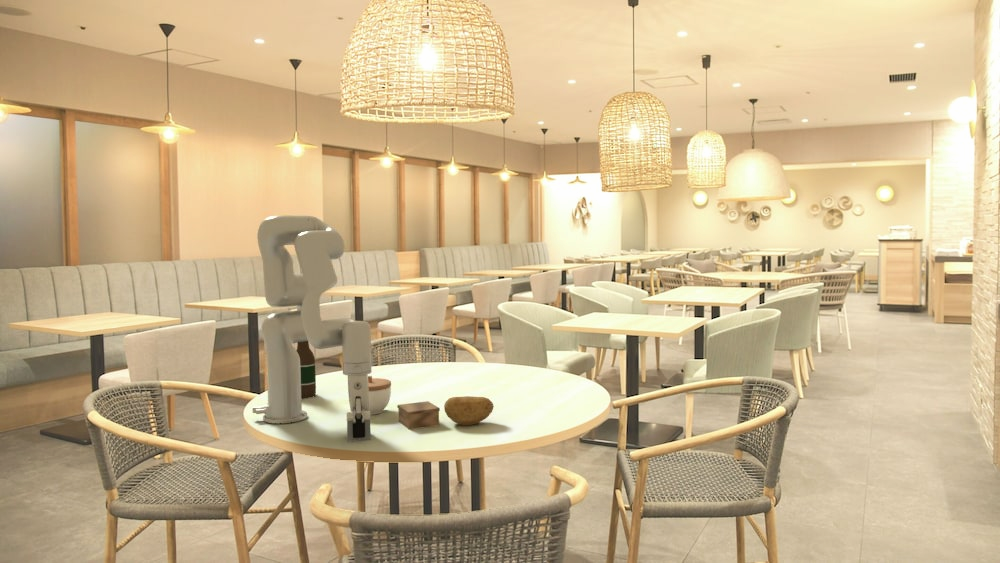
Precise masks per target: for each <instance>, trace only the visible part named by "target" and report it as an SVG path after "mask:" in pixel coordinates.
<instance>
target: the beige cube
mask: <svg viewBox="0 0 1000 563" xmlns="http://www.w3.org/2000/svg"><path fill="white" fill-rule="evenodd" d="M361 414H362V413H361ZM355 415H356V414H355ZM371 418H372V417H371V415H370V411H368V412H367V411H364V422H365V437H363V438H353V423H354V422H353V412H351V411H347V412H346V429H347V431H346V432H347V434H346V435H347V442H358V441H371V440H372V439H371V437H372V436H371V435H372V434H371V433H372V432H371ZM355 421H356V419H355ZM355 423H356V422H355Z"/></svg>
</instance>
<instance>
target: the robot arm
mask: <svg viewBox="0 0 1000 563" xmlns="http://www.w3.org/2000/svg"><path fill="white" fill-rule="evenodd" d="M256 234H257V237H256V238H257V245H258V249H259V252H260V255H261V260H262V271H263V285H264V297H265V300H266V304H268V306H269V307H272V308H275V309H276V308H277V309H279V308H280V309H281V308H289V307H296V310H289V311H280V312H279V311H278V312H274V313H271V314H269V315H267V316H266V317H265V318H264V319H263V321H262V324H261V335H262V339H263V343H264V348H265V357H266V360H265V361H266V362H265V363H266V380H267V403H266V404H264V405H263V406H258V405H257V406H255V405H254V406H252V414H256V415H261V414H264V415H263V416H262V420H263V422H265V423H268V424H275V423H276V424H278V425H279V424H280V423H281V424H291V422H292V423H297V422H301V421H303V420H306V419H307V417H308V412H307V411H305V410H303V408H302V406H303V405H302V404H303V403H302V398H301V370H300V357H299V355H298V353H297V351H296V350H297V349H296V348H295V347H294V344H296V343H297V344H298V342H304V341H308V342H309V345H311V347H313V348H315V349H318V350H325V349H330V348H332V349H333V348H336V347H337V348H338V347H341V349H342V351H341V352H342V375H343V376H344V375H345V376H347V388H348V389H347V391H348V392H347V394H348V402H349V403H348V404H349V408H350V412H353V422H354V423H353V438H363V437H365V422H364V410H367V412H368V411H369V386H368V376H369V375H370V374H371V373H372V372H373V371H372V338H371V337H372V336H371V334H372V333H371V324H370V323H369V322H367V321H363V320H355V319H352V318H349V317H342V318H332V319H326V320H322V317H321V307H320V306H321V305H320V298H321V297H322V295H323V294H324V293H326V292H327V291H330V290H331V289H333V287H335V286H336V285H337V283H338V277H337V274H336V271H335V268H334V265H333V264H334V263H333V261H332V260H337V259H340V258H341V257H343V255H344V253H345V249H346V248H345V242H344V239H343V237H342V235H341V234H340V233H339V231H337V230H336V229H335V228H334V227H332V226H330V225H328V224H327V223H326V222H324V221H322V220H321V219H320V218H318V217H316V216H311V215H288V214H287V215H285V214H284V215H272V216H268V217H266V218H265V219H264V220H263V221H261V223H260V225H259V226H258V229H257V233H256ZM288 245H289V246H294V251H295V253H296V257H297V260H298V263H299V266H300V269H301V273H295V272H294V271H295V270H294V260H293V257H292V255H291V253H290V252H289V251H288V249H287V248H286V247H285V246H288ZM361 413H362V414H361ZM355 414H356V415H355ZM355 419H356V421H355ZM355 422H356V423H355Z"/></svg>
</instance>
